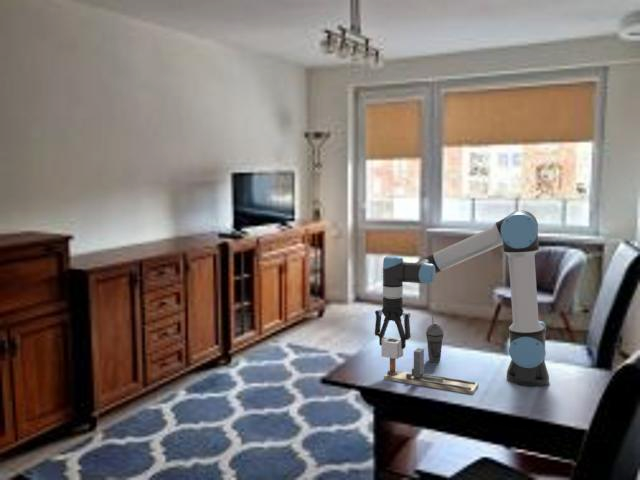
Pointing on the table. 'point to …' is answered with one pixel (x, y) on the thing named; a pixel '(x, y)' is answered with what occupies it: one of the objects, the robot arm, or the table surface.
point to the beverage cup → (434, 341)
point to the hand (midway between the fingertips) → (392, 354)
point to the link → (390, 348)
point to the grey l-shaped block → (421, 366)
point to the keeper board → (445, 384)
